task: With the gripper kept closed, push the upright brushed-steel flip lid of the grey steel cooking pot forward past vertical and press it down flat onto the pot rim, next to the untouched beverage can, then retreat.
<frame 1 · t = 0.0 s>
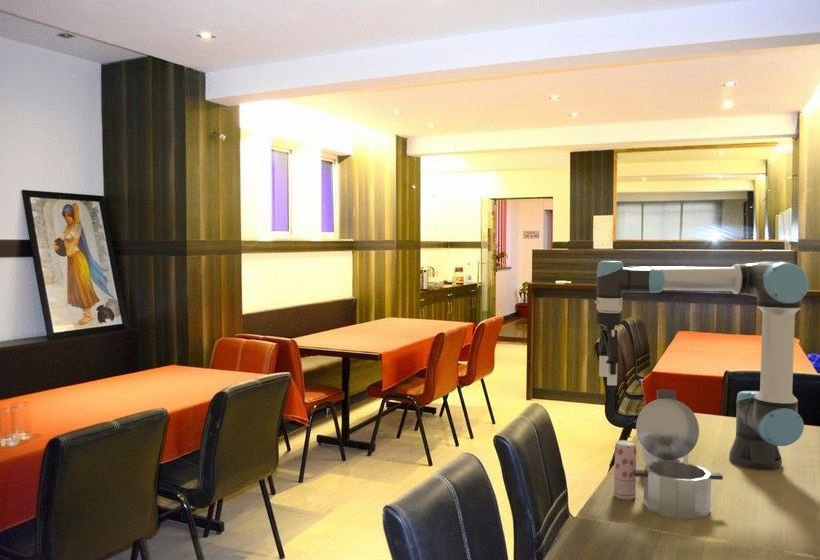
hand: (607, 380, 214), 28 cm above the table, fingers open, 13 cm apart
pot: (676, 507, 185), on the table
beverage can: (624, 496, 193), on the table
lid: (666, 426, 195), point 19 cm above the table, hinge at 100.0°
mug: (662, 473, 214), on the table
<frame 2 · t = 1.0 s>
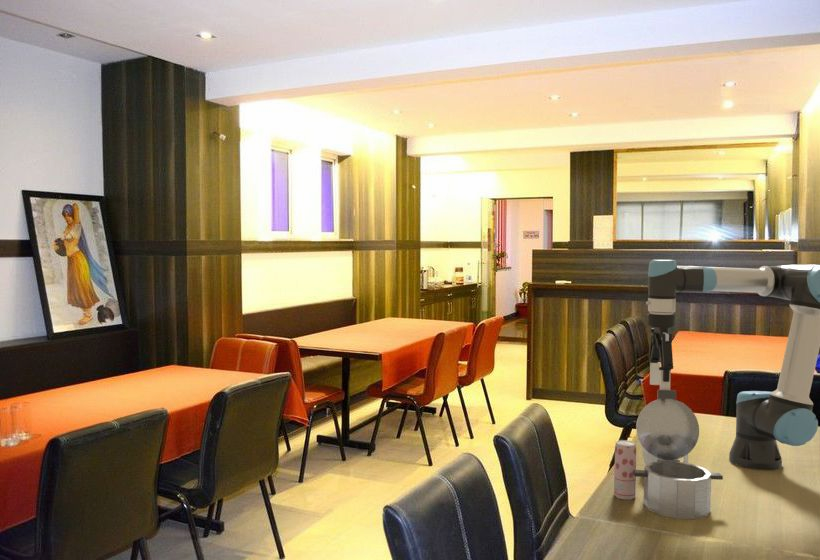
hand: (659, 388, 203), 28 cm above the table, fingers open, 11 cm apart
lid: (666, 426, 195), point 19 cm above the table, hinge at 99.1°
everything else where it was.
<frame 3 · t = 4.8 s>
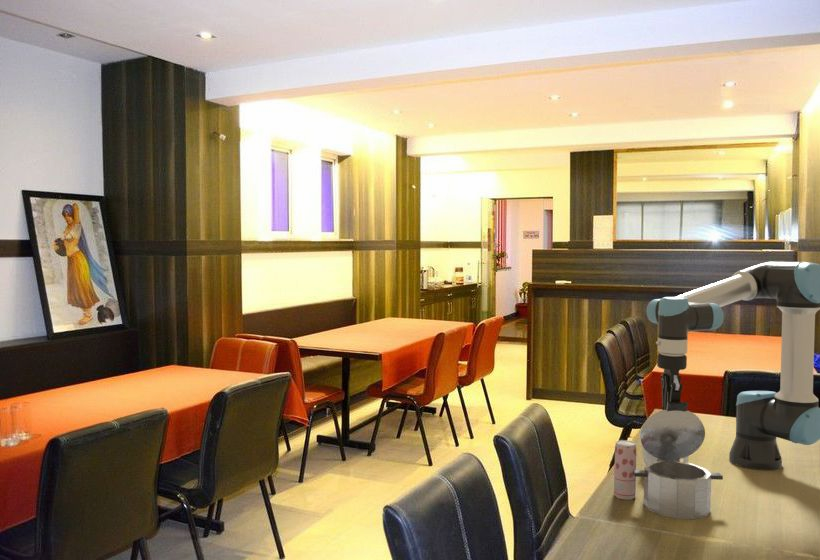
hand: (669, 438, 192), 16 cm above the table, fingers closed
lid: (671, 430, 190), point 19 cm above the table, hinge at 66.4°, touching gripper
everything else where it was.
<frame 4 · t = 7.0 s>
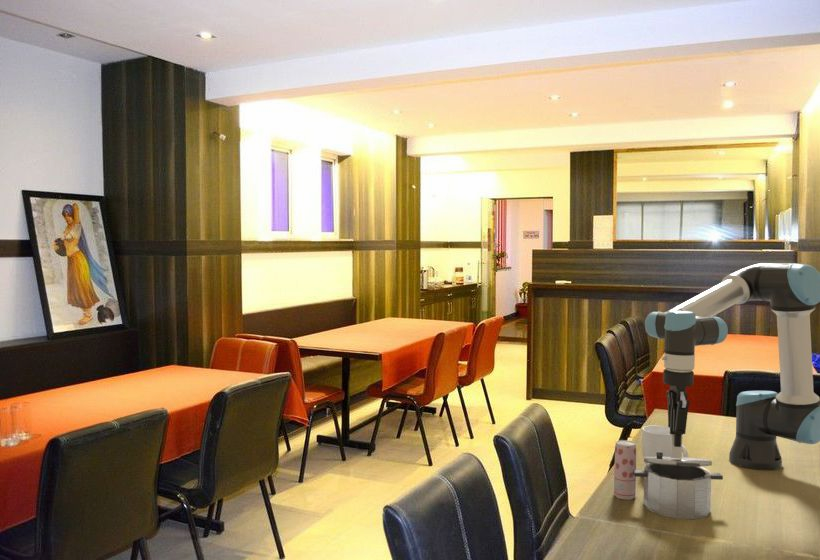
hand: (675, 457, 185), 13 cm above the table, fingers closed
lid: (677, 458, 184), point 13 cm above the table, hinge at 12.6°, touching gripper
everything else where it was.
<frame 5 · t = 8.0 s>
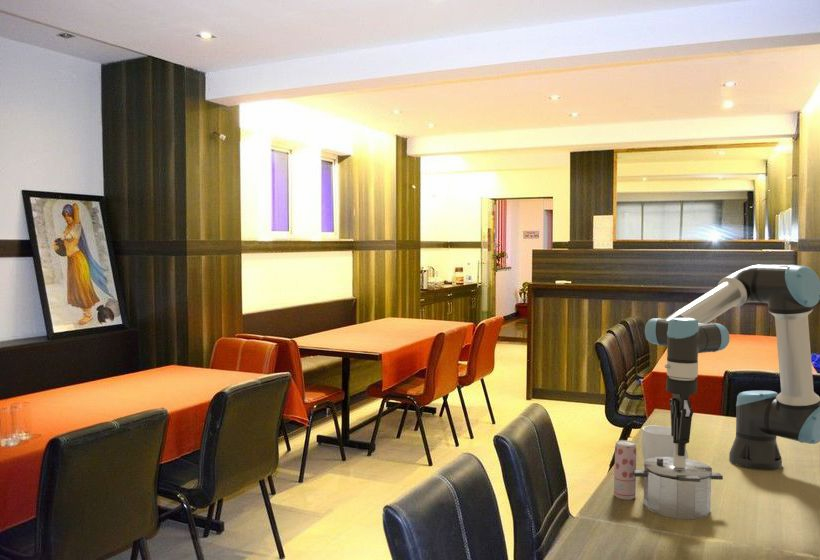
hand: (679, 466, 183), 12 cm above the table, fingers closed
lid: (678, 465, 184), point 11 cm above the table, hinge at 1.7°, touching gripper
everything else where it was.
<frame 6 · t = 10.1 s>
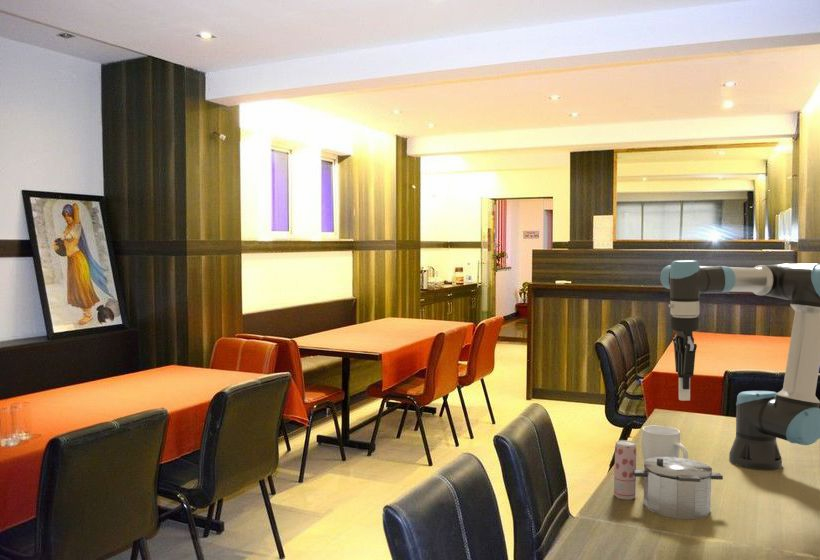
hand: (684, 399, 195), 26 cm above the table, fingers closed
lid: (678, 465, 184), point 11 cm above the table, hinge at 1.6°
everything else where it was.
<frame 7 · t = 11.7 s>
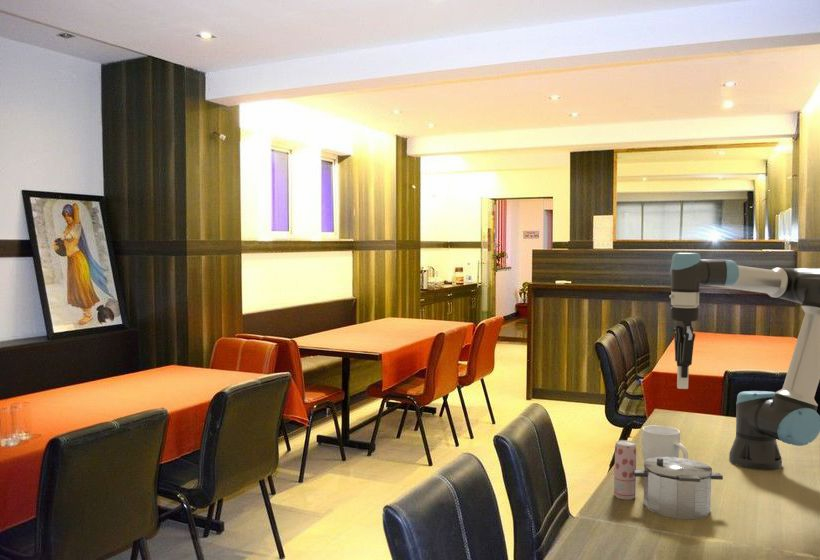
hand: (682, 388, 201), 28 cm above the table, fingers closed
nothing on the table moved.
at the end: lid at +2° (first picture: +100°); lid touching nothing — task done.
